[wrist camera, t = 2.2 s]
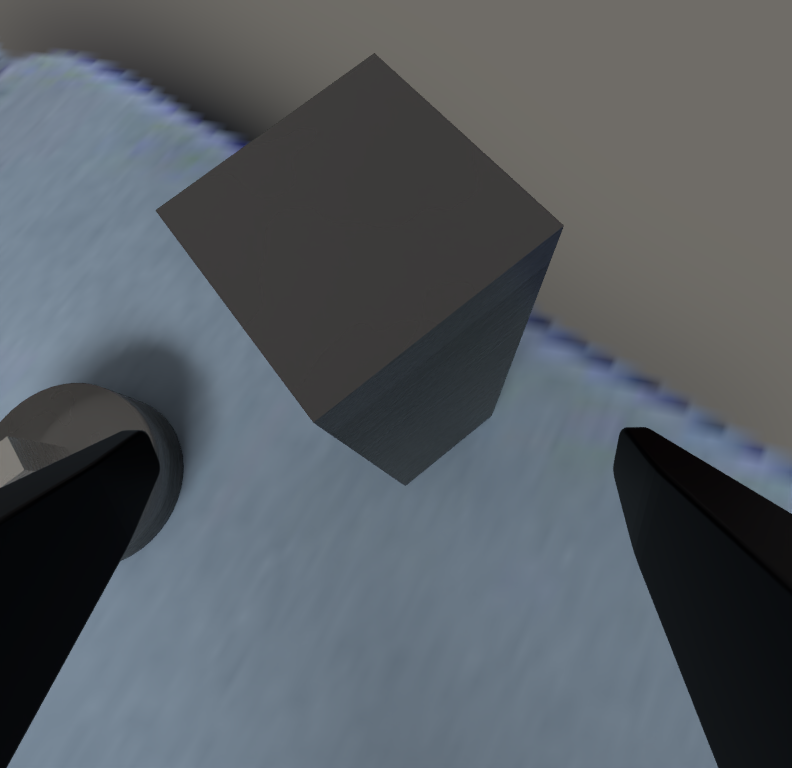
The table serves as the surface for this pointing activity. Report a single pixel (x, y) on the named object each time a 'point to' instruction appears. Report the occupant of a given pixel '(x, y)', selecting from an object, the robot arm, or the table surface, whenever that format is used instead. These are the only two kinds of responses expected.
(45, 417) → the ratchet
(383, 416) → the charcoal square pillar
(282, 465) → the table surface
